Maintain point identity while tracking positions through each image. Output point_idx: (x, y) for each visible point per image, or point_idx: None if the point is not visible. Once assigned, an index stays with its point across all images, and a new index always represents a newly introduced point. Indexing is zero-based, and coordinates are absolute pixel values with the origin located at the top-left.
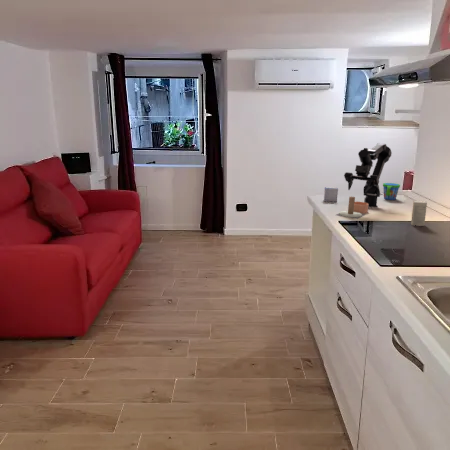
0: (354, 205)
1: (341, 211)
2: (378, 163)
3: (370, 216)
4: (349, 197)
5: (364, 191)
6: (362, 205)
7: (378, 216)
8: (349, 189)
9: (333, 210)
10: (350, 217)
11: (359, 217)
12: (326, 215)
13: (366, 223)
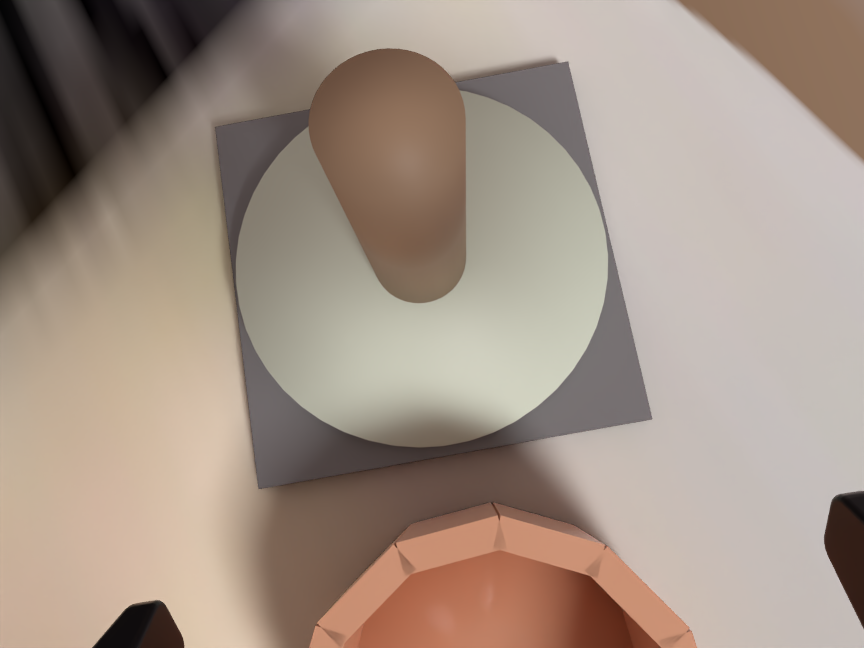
0: (499, 514)
1: (603, 266)
2: None
3: (181, 509)
4: (436, 69)
5: (162, 606)
6: (345, 596)
7: (84, 625)
8: (842, 563)
9: (844, 407)
10: None
11: (235, 222)
12: (675, 15)
13: (47, 59)
